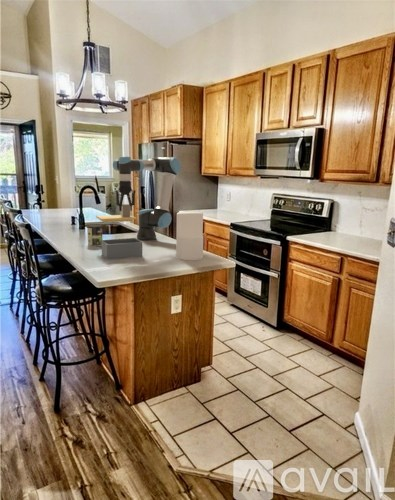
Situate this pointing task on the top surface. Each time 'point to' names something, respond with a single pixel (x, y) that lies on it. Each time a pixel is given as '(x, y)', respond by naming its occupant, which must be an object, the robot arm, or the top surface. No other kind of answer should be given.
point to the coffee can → (94, 235)
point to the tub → (121, 248)
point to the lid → (118, 216)
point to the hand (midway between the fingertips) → (125, 215)
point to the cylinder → (189, 235)
